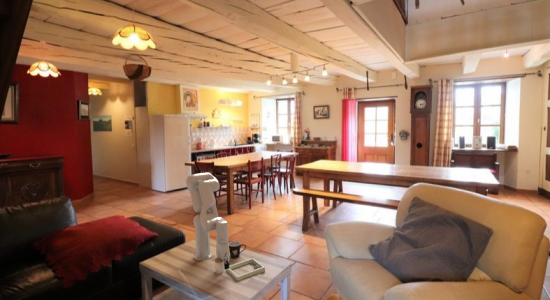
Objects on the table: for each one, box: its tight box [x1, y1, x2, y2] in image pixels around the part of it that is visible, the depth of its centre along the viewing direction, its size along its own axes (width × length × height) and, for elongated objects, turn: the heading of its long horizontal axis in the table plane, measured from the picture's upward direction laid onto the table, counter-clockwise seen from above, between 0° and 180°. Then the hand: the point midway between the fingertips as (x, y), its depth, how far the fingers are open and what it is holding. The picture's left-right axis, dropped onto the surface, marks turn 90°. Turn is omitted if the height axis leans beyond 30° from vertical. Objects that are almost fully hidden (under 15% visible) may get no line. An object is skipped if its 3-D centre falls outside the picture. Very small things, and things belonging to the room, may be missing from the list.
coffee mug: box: [228, 240, 247, 259], centre depth 200 cm, size 12×9×10 cm
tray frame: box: [225, 257, 266, 282], centre depth 182 cm, size 15×20×3 cm
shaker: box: [214, 256, 225, 275], centre depth 180 cm, size 5×5×9 cm
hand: (223, 265), depth 181 cm, fingers open, 9 cm apart
